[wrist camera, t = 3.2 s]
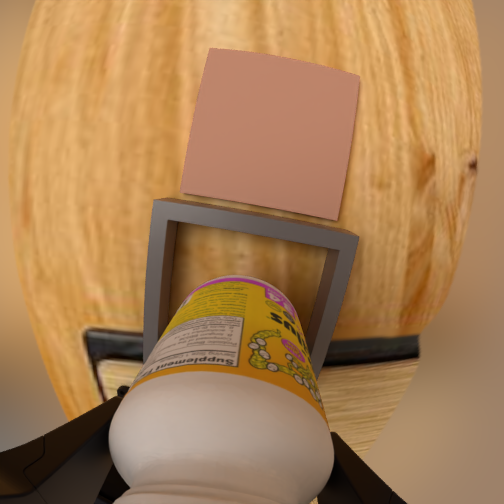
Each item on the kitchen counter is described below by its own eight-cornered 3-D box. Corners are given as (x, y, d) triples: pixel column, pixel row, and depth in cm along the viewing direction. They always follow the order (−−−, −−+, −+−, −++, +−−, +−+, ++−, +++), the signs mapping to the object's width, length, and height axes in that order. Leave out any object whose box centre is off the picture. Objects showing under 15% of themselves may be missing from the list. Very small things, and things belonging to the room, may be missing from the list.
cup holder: (305, 380, 21) (309, 400, 19) (153, 354, 21) (143, 372, 19) (347, 230, 19) (359, 236, 16) (166, 197, 19) (153, 199, 16)
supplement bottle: (308, 364, 16) (355, 576, 4) (200, 383, 17) (149, 578, 4) (285, 256, 15) (367, 506, 2) (162, 284, 15) (5, 476, 3)
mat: (334, 219, 19) (337, 220, 18) (182, 192, 18) (179, 192, 18) (357, 78, 16) (359, 76, 16) (211, 51, 16) (209, 47, 16)
